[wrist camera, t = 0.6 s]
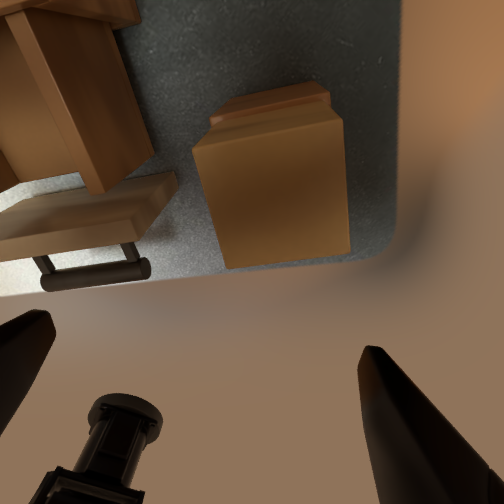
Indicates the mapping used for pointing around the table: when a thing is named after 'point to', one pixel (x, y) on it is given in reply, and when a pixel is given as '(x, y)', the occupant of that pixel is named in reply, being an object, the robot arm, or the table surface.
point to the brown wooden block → (271, 101)
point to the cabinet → (83, 9)
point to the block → (277, 185)
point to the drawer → (73, 148)
